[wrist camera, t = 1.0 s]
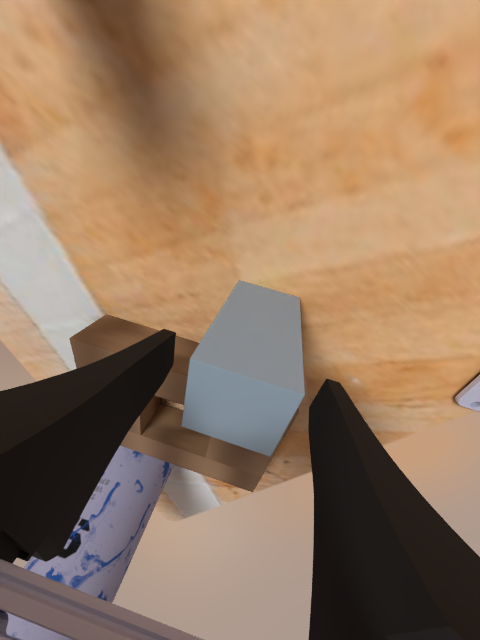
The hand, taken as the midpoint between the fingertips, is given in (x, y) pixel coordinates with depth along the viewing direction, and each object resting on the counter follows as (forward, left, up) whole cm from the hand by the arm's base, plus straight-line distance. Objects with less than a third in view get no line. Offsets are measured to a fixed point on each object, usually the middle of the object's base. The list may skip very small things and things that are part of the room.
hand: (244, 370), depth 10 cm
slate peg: (0, 0, -6) cm, 6 cm away
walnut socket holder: (+4, +10, -6) cm, 12 cm away
